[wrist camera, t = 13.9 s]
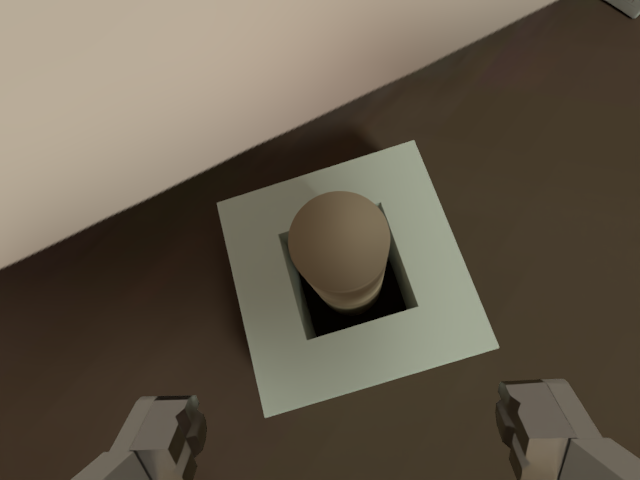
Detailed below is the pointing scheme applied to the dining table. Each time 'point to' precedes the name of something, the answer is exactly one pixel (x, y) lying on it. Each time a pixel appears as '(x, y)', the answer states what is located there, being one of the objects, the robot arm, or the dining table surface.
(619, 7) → the supplement box
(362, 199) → the peg
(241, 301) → the socket block
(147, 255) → the dining table surface
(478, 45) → the dining table surface
